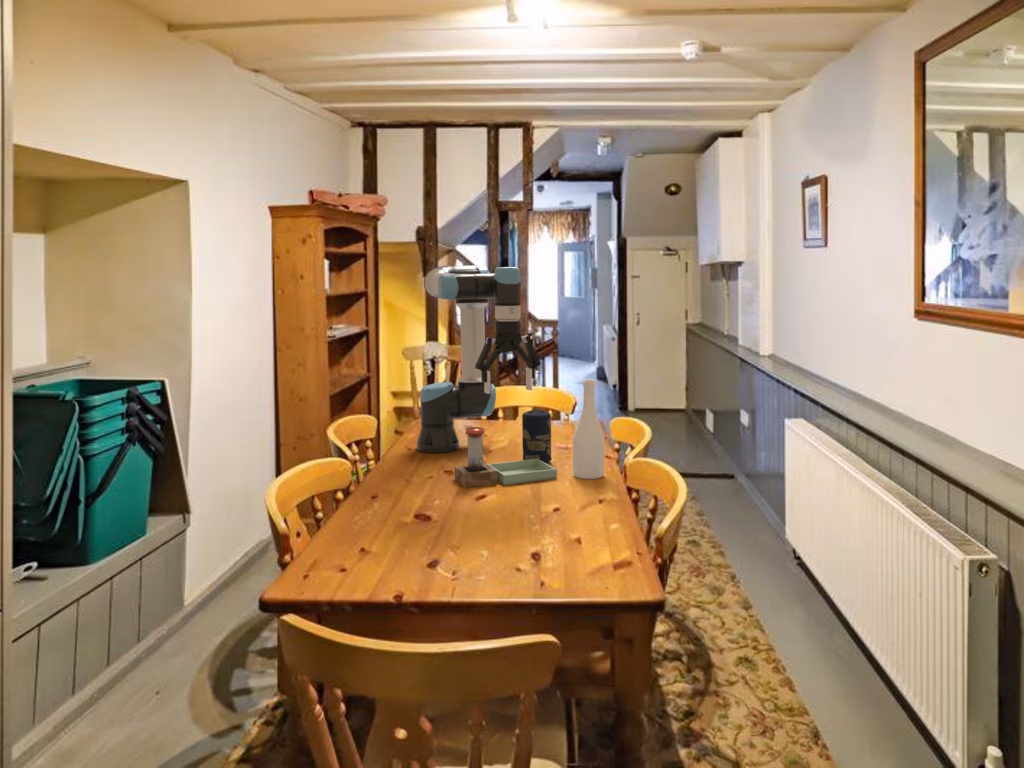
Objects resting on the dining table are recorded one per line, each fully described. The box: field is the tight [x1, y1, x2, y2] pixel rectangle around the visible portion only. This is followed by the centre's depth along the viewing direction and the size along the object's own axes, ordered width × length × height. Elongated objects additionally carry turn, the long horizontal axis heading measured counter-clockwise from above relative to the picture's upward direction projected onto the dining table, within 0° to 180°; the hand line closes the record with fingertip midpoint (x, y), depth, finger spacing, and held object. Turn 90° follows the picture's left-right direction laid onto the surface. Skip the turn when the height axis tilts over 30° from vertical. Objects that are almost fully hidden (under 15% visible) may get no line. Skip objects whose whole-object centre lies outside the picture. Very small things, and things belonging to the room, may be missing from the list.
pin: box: [465, 426, 485, 472], centre depth 223 cm, size 6×6×16 cm
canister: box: [521, 408, 552, 464], centre depth 244 cm, size 10×10×18 cm
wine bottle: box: [572, 378, 605, 480], centre depth 227 cm, size 10×10×30 cm
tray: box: [486, 459, 558, 486], centre depth 229 cm, size 14×17×3 cm
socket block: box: [454, 462, 498, 489], centre depth 224 cm, size 10×10×4 cm
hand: (508, 391), depth 222 cm, fingers open, 13 cm apart
